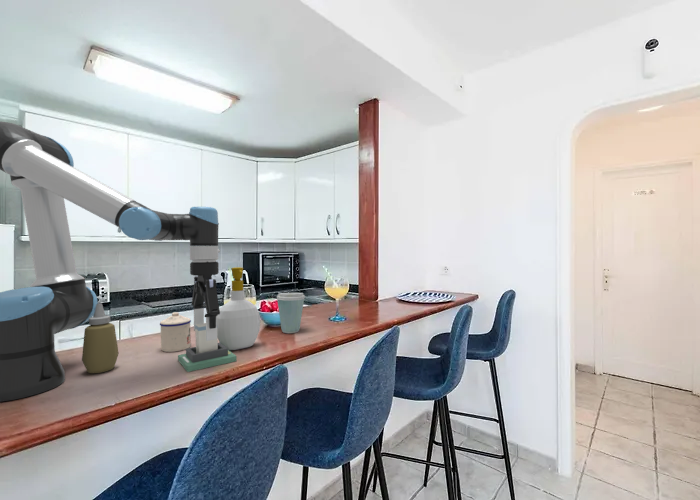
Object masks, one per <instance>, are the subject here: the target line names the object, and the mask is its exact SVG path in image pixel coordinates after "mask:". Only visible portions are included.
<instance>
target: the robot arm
mask: <svg viewBox="0 0 700 500" xmlns="http://www.w3.org/2000/svg"><path fill="white" fill-rule="evenodd" d="M74 165H75V164H74V158H73V156H72V153H71V152H70V150H69V149H68V148H67V147H65V146H64V145H63V144H61V143H60V142H58V141H56V140H55V139H54V138H51V137H49V136H46V135H41V134H40V133H38V132H36V131H35V132H34V131H33V130H30V129H28V128H25V127H23V126H21V125H19V124H16V123H12V122H7V121H0V171H2V172H4V173H6V174H7V175H9V177H10V182H11V183H10V184H12V186H14V187H15V188H17V189H18V190H19V191H20V193H21V200H22V207H23V211H24V216H25V222H26V228H27V233H28V234H27V235H28V239H29V245H30V250H31V256H32V262H33V267H34V274H35V280H34V281H33V282H32V283H31V284H30V285H29V286H28V287H20V288H17V289H9V290H5V291H4V290H3V291H1V292H0V402H8V401H9V402H10V401H14V400H19V399H23V398H27V397H31V396H32V397H33V396H35V395H38V394H41V393H44V392H47V391H49V390H52V389H54V388H56V387H58V386H60V385H62V384H63V383H64V382H65V381H66V380H65V379H66V377H65V376H66V375H65V369H64V367H63V365H62V363H61V361H60V359H59V357H58V355H57V353H56V349H55V348H56V347H55V346H56V345H55V335H56V334H59V333H61V332H62V333H63V332H65V331H67V330H72V329H76V328H78V327H80V326H81V325H83V324H86V322H89V318H91V317H94V313H95V309H96V304H99V303H98V297H97V295H96V293H95V291H94V290H92V289H91V288H90V287H89V286H87V284H86V279H85V277H84V276H82V275H81V274H78V272H77V268H76V261H75V260H76V259H75V255H74V250H73V243H72V238H71V231H70V226H69V219H68V215H67V214H68V213H67V208H66V203H65V200H66V201H68V202H70V203H72V204H74V205H75V206H78V207H80V208H82V209H84V210H85V211H87V212H89V213H91V214H93V215H95V216H97V217H98V218H100V219H102V220H104V221H106V222H108V223H110V224H112V225H113V226H116V227H117V228H119V229H120V231H121V232H122V233H123V234H124V235H125V236H126V237H128V238H131V239H135V240H137V241H155V242H156V241H157V242H158V241H159V242H160V241H189V260H190V261H191V262H190V263H189V272H190V273H189V274H190V275H191V276H194V277H193V290H192V298H191V305H192V307H193V331H194V332H195V325H196V324H203V323H206V341H210V340H216V339H217V316H218V315H219V314H220V306H219V305H220V304H219V298H218V291H217V279H215V278H214V279H213V277H212V276H215V275H218V274H219V262H218V259H219V253H220V252H221V250H220V249H219V224H220V223H219V213H218V209H216V208H215V207H212V206H192V207H190V208H189V213H167V212H162V211H158V210H153V209H151V208H149V207H147V206H146V205H143V204H142V203H140V202H138V201H137V200H134V199H132V198H131V197H129V196H127V195H125V194H124V193H122V192H119V191H118V190H116V189H114V188H112V187H110V185H107V184H105V183H103V182H101V181H100V180H97V179H96V178H94V177H92V176H90V175H88V174H87V173H85V172H83V171H81V170H79V169H78V168H76V167H74ZM205 311H206V313H205Z"/></svg>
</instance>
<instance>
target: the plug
mask: <svg viewBox="0 0 700 500" xmlns="http://www.w3.org/2000/svg"><path fill="white" fill-rule="evenodd" d="M194 332H195V336H194V337H195V347H196V354H197V353H203V352H208V351H213V350H218V343H219V340H218V338H217V339H216V340H210V341H206V322H204V323H203V324H196V325H195V331H194Z"/></svg>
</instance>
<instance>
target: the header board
mask: <svg viewBox="0 0 700 500" xmlns="http://www.w3.org/2000/svg"><path fill="white" fill-rule="evenodd" d="M177 361H178V362H179V363H180V365H182V367H183V369H184V370H185V371H186V372H187V373H188V372H189V373H190V372H193V371H194V372H195V371H197V370H198V371H199V370H203V369H207V368H208V369H209V368H212V367H216V366H222V365H225V364H230V363H235V362H237V355H236V354H235V353H233V352H232V351H231V350H228V348H226V347H225V346H224V345H222V344H221V343H220V342H218V350H213V351H208V352H203V353H197V354H196V346H194V347H189V348H187V349H185V353H183V354H177Z"/></svg>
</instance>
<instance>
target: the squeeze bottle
mask: <svg viewBox="0 0 700 500" xmlns="http://www.w3.org/2000/svg"><path fill="white" fill-rule="evenodd" d="M116 333H117V332H116V326H115V324H113V323H112V322H111V315H106V312H105V309H104V306H103V303H98V304H96V309H95V313H94V315H93V316H92V317H91V318H89V320H88V325H87V327H85V328H84V334H83V343H82V355H81V362H82V363H83V365H84V368H85V370H86V372H87V373H88V374H100V373H105V372H108V371H110V370H111V371H112V370H113V369H115V366H116V362H117V360H118V357H119V353H120V352H119V346H118V340H117V334H116Z"/></svg>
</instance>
